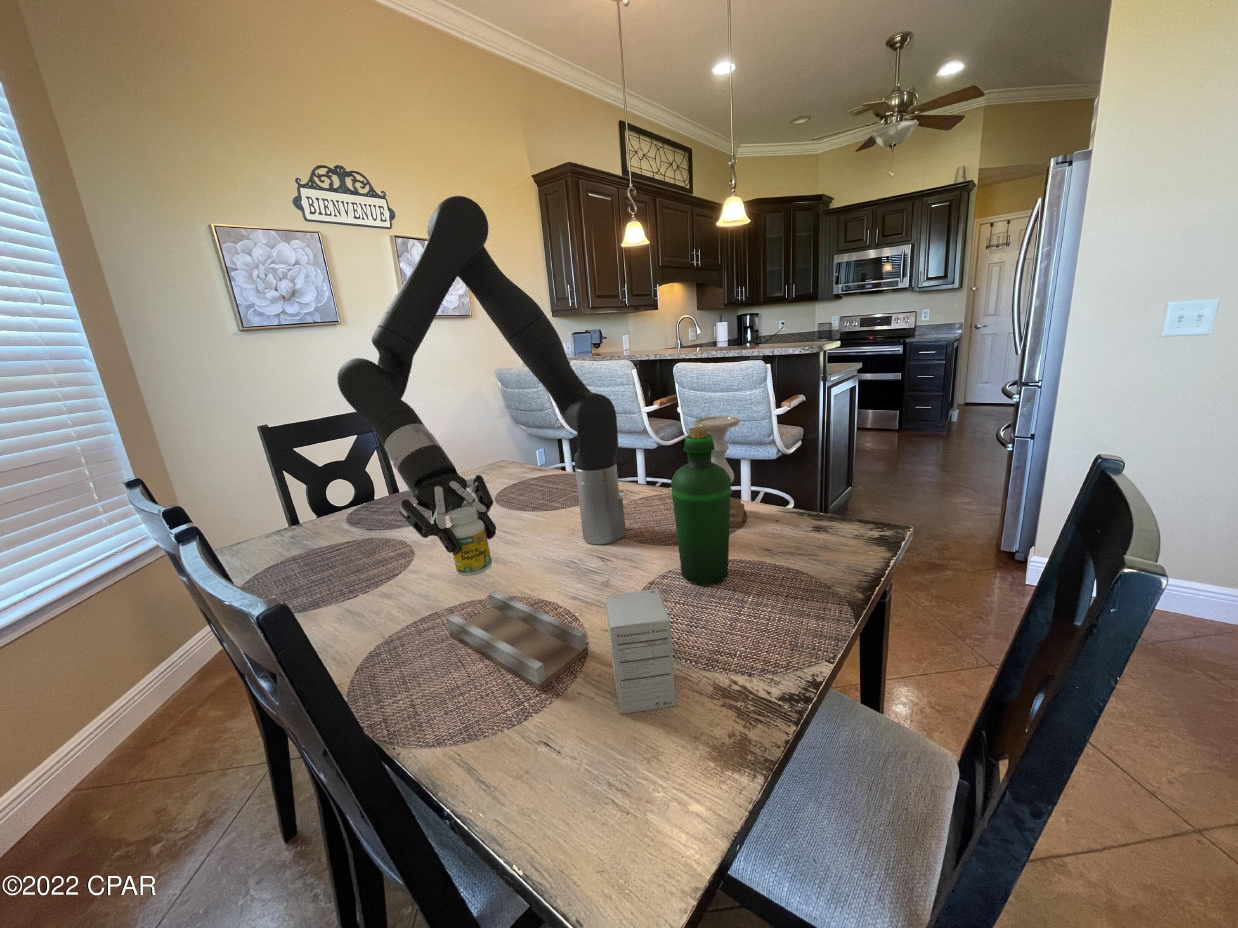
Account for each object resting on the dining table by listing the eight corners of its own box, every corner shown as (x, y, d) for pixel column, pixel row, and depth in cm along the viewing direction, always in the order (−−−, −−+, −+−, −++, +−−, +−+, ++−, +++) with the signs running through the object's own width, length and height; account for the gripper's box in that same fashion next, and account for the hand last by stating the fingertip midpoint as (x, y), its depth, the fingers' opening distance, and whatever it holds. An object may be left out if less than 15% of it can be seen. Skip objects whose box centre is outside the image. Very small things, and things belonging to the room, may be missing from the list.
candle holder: (741, 528, 108) (738, 425, 101) (692, 526, 112) (687, 426, 105) (744, 510, 118) (743, 415, 111) (700, 508, 121) (696, 416, 115)
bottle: (739, 565, 92) (736, 422, 84) (726, 594, 82) (722, 436, 75) (685, 558, 96) (678, 422, 89) (668, 585, 87) (658, 435, 79)
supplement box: (613, 674, 66) (604, 593, 62) (666, 667, 66) (660, 586, 63) (618, 716, 59) (608, 626, 55) (677, 707, 59) (671, 618, 56)
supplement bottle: (486, 556, 77) (475, 501, 75) (497, 568, 73) (486, 510, 70) (452, 568, 75) (440, 511, 72) (461, 581, 70) (449, 521, 68)
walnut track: (450, 636, 78) (446, 617, 77) (497, 608, 85) (494, 590, 84) (539, 690, 64) (536, 668, 63) (587, 652, 71) (585, 631, 70)
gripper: (377, 456, 68) (437, 551, 64) (465, 433, 79) (522, 513, 74) (370, 486, 73) (426, 576, 69) (454, 461, 83) (507, 537, 79)
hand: (475, 543), depth 71 cm, fingers closed on supplement bottle, 5 cm apart
